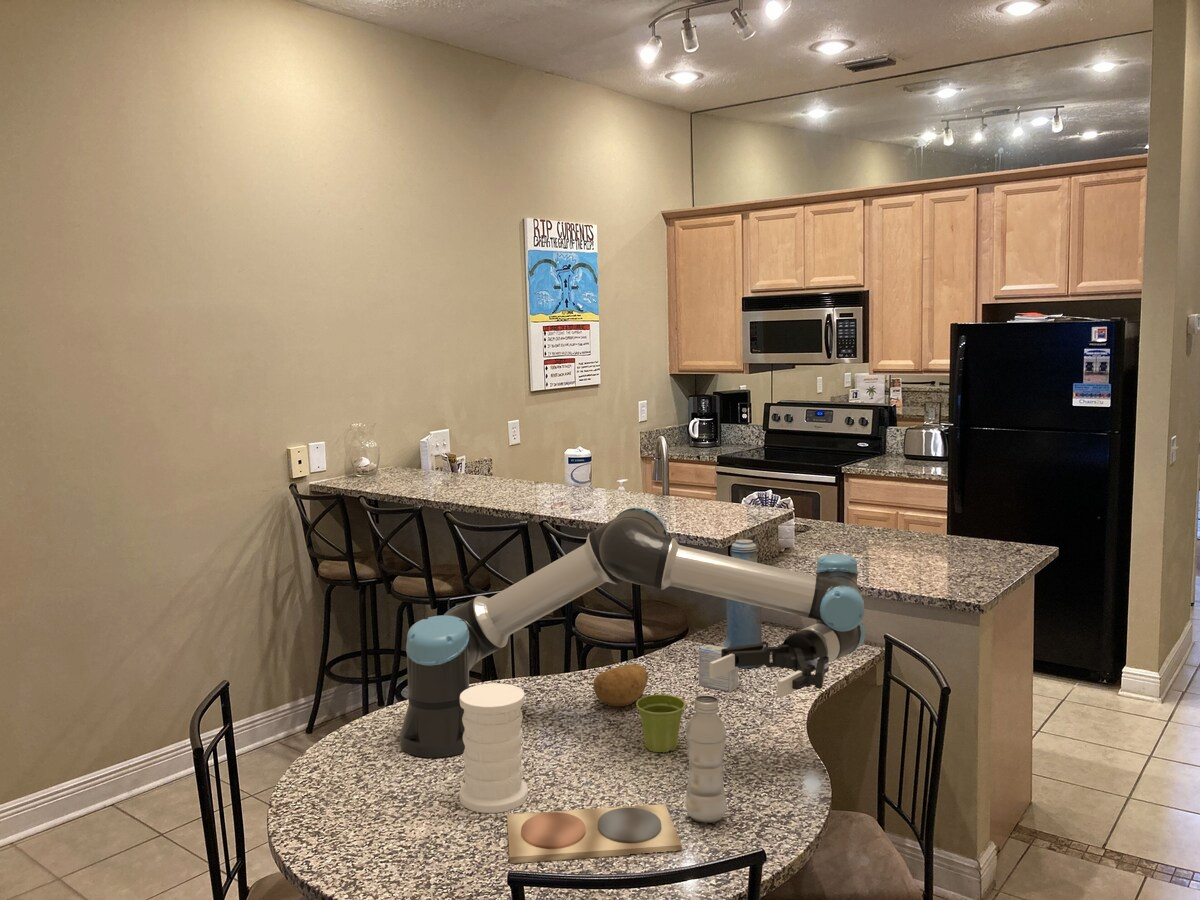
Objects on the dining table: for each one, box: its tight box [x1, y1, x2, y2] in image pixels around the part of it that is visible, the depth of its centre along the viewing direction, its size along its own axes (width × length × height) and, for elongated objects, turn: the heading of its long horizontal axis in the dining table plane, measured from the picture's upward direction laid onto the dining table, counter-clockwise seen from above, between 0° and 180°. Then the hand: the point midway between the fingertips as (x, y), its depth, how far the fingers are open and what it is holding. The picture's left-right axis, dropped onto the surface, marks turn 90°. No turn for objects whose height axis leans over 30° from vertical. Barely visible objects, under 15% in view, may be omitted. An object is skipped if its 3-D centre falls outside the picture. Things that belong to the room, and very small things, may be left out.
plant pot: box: [635, 693, 687, 754], centre depth 181 cm, size 9×9×9 cm
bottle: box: [723, 539, 763, 669], centre depth 228 cm, size 10×10×30 cm
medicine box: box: [698, 644, 739, 693], centre depth 213 cm, size 8×4×9 cm, turn 58°
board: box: [506, 803, 683, 864], centre depth 149 cm, size 26×13×2 cm, turn 97°
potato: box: [592, 663, 649, 707], centre depth 203 cm, size 10×14×8 cm
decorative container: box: [459, 682, 529, 814], centre depth 161 cm, size 12×12×18 cm
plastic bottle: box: [685, 694, 728, 824], centre depth 153 cm, size 6×7×20 cm
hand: (744, 679), depth 159 cm, fingers open, 13 cm apart
